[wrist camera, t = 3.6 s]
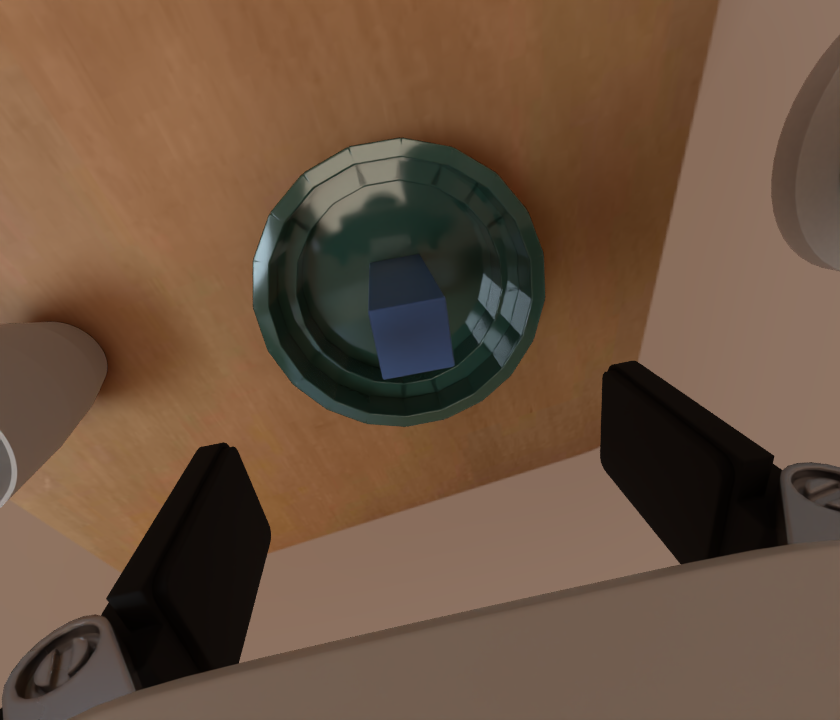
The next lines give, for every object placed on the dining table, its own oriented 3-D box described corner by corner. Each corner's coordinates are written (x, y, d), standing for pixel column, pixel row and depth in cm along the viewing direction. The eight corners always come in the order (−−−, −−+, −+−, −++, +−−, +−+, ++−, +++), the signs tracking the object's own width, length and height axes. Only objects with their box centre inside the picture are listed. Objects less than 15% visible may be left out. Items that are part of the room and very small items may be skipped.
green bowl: (508, 124, 24) (539, 113, 19) (522, 365, 30) (549, 399, 26) (237, 171, 23) (205, 171, 19) (311, 406, 30) (300, 447, 25)
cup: (-24, 378, 27) (-228, 484, 18) (9, 271, 24) (-208, 329, 15) (110, 431, 29) (-9, 547, 20) (151, 338, 27) (38, 422, 18)
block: (420, 253, 26) (445, 296, 17) (427, 302, 27) (455, 367, 18) (369, 262, 26) (367, 311, 17) (379, 311, 27) (382, 380, 18)
